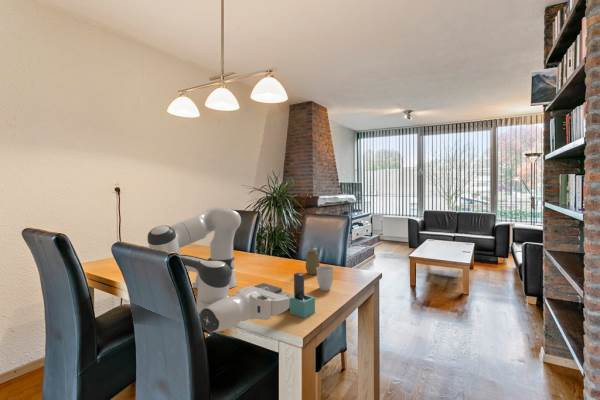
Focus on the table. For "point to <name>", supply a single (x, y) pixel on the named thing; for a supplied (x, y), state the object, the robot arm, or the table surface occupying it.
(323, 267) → the cup
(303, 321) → the table surface
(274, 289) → the sleeve
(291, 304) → the socket
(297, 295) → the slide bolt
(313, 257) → the squeeze bottle
